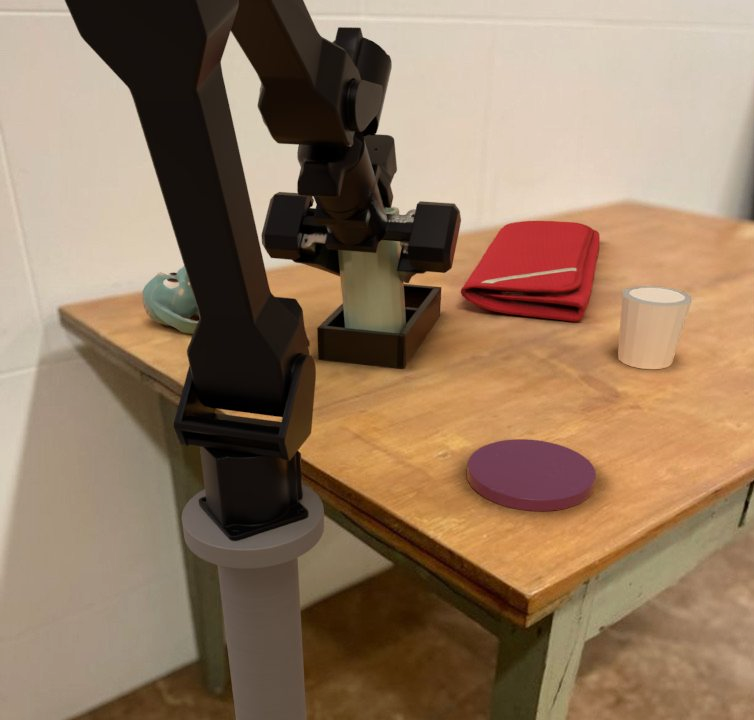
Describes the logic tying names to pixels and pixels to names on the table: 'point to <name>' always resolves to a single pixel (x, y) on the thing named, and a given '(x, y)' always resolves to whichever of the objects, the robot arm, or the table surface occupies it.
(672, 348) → the white cup
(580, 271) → the dish drying mat
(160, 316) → the stuffed animal
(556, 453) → the lid
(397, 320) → the tumbler
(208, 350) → the robot arm
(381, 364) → the compartment tray
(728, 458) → the table surface
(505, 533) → the table surface
